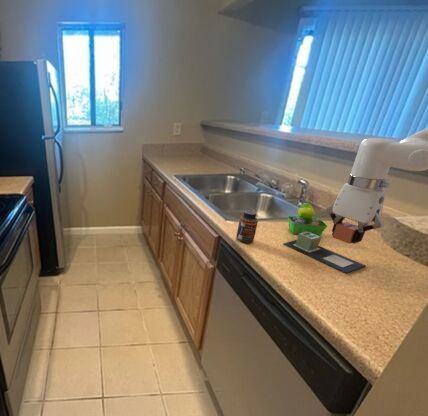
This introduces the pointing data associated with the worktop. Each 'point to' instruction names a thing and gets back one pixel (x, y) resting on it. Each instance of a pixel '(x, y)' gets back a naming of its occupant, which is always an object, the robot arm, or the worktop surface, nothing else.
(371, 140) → the robot arm
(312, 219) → the fruit basket
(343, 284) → the worktop surface
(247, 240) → the supplement bottle
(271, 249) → the worktop surface
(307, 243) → the block
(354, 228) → the block
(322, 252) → the word mat
